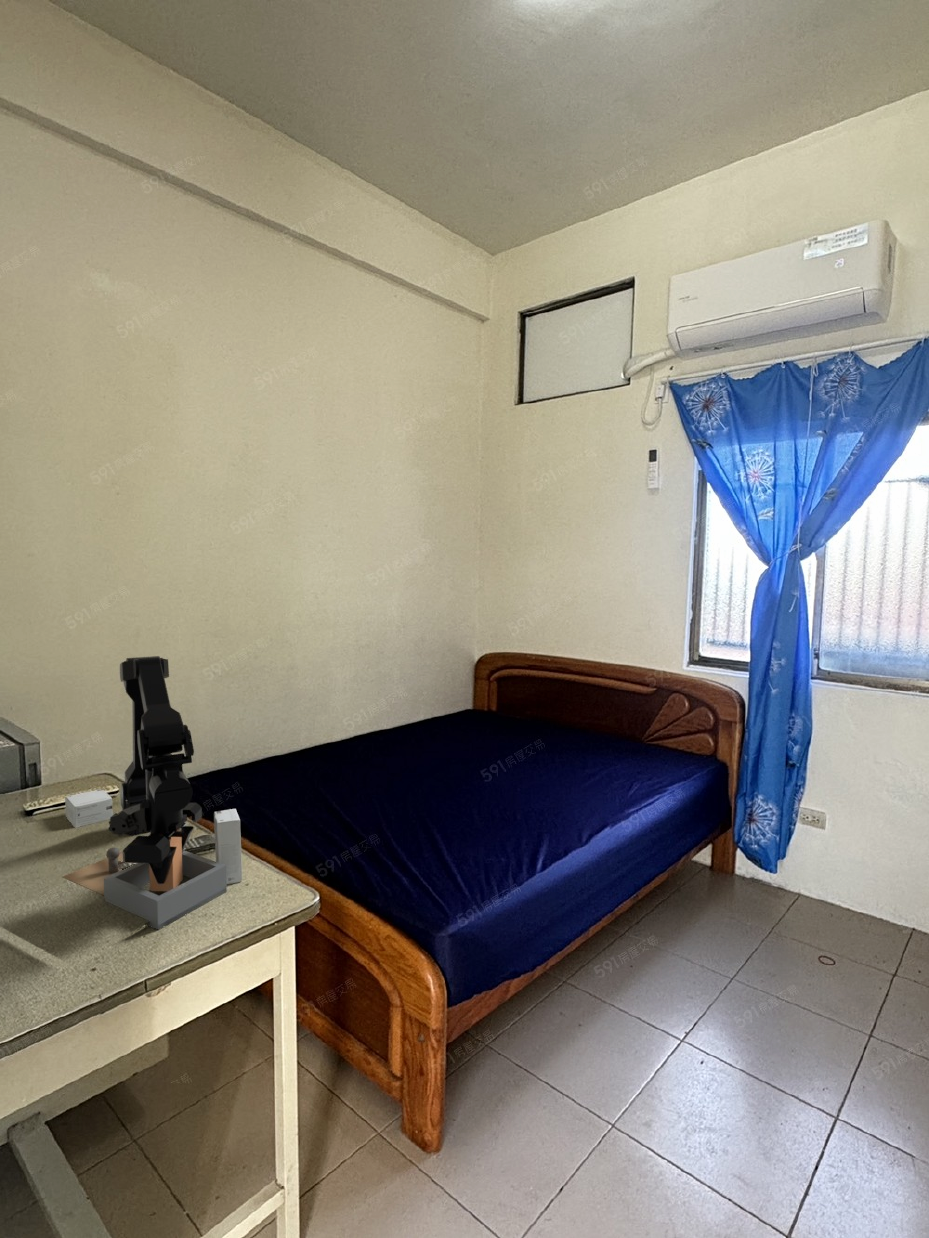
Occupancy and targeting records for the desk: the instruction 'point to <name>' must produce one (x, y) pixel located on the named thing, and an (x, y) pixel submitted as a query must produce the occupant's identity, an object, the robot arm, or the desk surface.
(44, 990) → the desk surface
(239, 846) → the skincare box
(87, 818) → the small box
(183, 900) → the bin
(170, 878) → the tan wooden brick
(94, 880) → the stud base
